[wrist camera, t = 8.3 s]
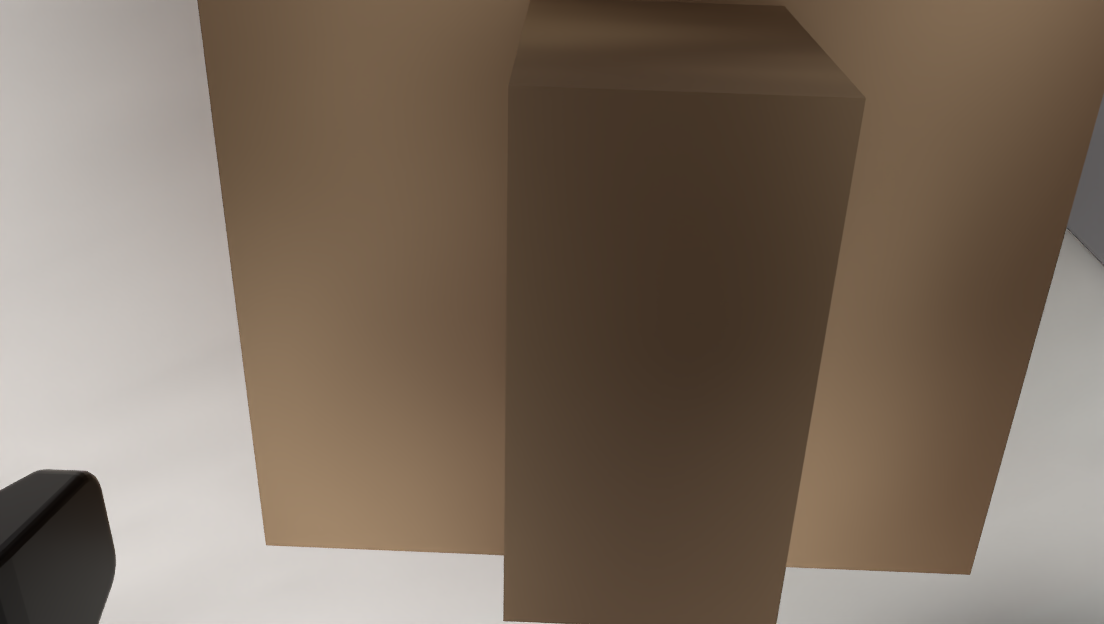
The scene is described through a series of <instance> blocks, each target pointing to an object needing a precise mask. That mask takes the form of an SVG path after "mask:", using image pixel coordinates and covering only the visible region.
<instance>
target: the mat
mask: <svg viewBox="0 0 1104 624" xmlns="http://www.w3.org/2000/svg"><path fill="white" fill-rule="evenodd" d="M1067 228H1068V229H1069V230H1070V231H1071V232H1072V233H1073V234H1074V235H1075V236H1076V237H1077V238H1078V239H1079V240H1080V241H1081V242H1082V243H1083V244H1084V245H1085V247H1086V248H1087V249H1088V250H1089V251H1090V252H1091V253H1092V254H1093V255H1094V256H1095V257H1096V258H1097V259H1098V260H1099V261H1100V262H1101V263H1102V264H1103V265H1104V94H1103V98H1102V101H1101V105H1100V108H1099V112H1098V116H1097V119H1096V123H1095V126H1094V130H1093V134H1092V137H1091V141H1090V144H1089V148H1088V152H1087V155H1086V159H1085V162H1084V166H1083V170H1082V173H1081V177H1080V180H1079V184H1078V188H1077V191H1076V195H1075V198H1074V202H1073V206H1072V209H1071V213H1070V216H1069V220H1068V224H1067Z"/></svg>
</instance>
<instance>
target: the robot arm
mask: <svg viewBox="0 0 1104 624" xmlns="http://www.w3.org/2000/svg"><path fill="white" fill-rule="evenodd" d="M115 566H116V555H115V549H114V544H113V540H112V535H111V530H110V526H109V521H108V517H107V512H106V508H105V503H104V499H103V494H102V490H101V487H100V484H99V482H98V480H97V478H96V477H95V476H94V475H93V474H91V473H89V472H88V471H77V470H51V469H46V470H39V471H36V472H33V473H31V474H29V475H28V476H26V477H24V478H22V479H20V480H18V481H17V482H15V483H13V484H11V485H9V486H7V487H5V488H4V489H2V490H0V624H99V621H100V618H101V615H102V612H103V609H104V607H105V604H106V601H107V598H108V595H109V592H110V590H111V587H112V583H113V580H114V575H115Z"/></svg>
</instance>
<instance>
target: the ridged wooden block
mask: <svg viewBox="0 0 1104 624" xmlns="http://www.w3.org/2000/svg"><path fill="white" fill-rule="evenodd" d="M197 1H198V9H199V16H200V24H201V32H202V40H203V48H204V56H205V64H206V72H207V80H208V88H209V96H210V104H211V112H212V120H213V128H214V136H215V144H216V152H217V159H218V167H219V175H220V183H221V191H222V199H223V207H224V215H225V223H226V231H227V239H228V247H229V255H230V263H231V271H232V279H233V287H234V295H235V302H236V310H237V318H238V326H239V334H240V342H241V350H242V358H243V366H244V374H245V382H246V390H247V398H248V406H249V414H250V422H251V430H252V438H253V445H254V453H255V461H256V469H257V477H258V485H259V493H260V501H261V509H262V517H263V525H264V533H265V541H266V545H273V546H297V547H321V548H344V549H368V550H392V551H416V552H440V553H464V554H488V555H504V615H503V621H517V622H540V623H563V624H776V622H777V616H778V610H779V604H780V599H781V593H782V587H783V581H784V575H785V569H786V567H799V568H822V569H846V570H870V571H894V572H918V573H942V574H966V575H970V573H971V569H972V566H973V562H974V559H975V555H976V551H977V548H978V544H979V541H980V537H981V533H982V530H983V526H984V523H985V519H986V515H987V512H988V508H989V505H990V501H991V497H992V494H993V490H994V486H995V483H996V479H997V476H998V472H999V468H1000V465H1001V461H1002V458H1003V454H1004V450H1005V447H1006V443H1007V440H1008V436H1009V432H1010V429H1011V425H1012V422H1013V418H1014V414H1015V411H1016V407H1017V404H1018V400H1019V396H1020V393H1021V389H1022V386H1023V382H1024V378H1025V375H1026V371H1027V368H1028V364H1029V360H1030V357H1031V353H1032V350H1033V346H1034V342H1035V339H1036V335H1037V332H1038V328H1039V324H1040V321H1041V317H1042V314H1043V310H1044V306H1045V303H1046V299H1047V296H1048V292H1049V288H1050V285H1051V281H1052V278H1053V274H1054V270H1055V267H1056V263H1057V260H1058V256H1059V252H1060V249H1061V245H1062V242H1063V238H1064V234H1065V231H1066V227H1067V224H1068V220H1069V216H1070V213H1071V209H1072V206H1073V202H1074V198H1075V195H1076V191H1077V188H1078V184H1079V180H1080V177H1081V173H1082V170H1083V166H1084V162H1085V159H1086V155H1087V152H1088V148H1089V144H1090V141H1091V137H1092V134H1093V130H1094V126H1095V123H1096V119H1097V116H1098V112H1099V108H1100V105H1101V101H1102V98H1103V94H1104V0H197Z"/></svg>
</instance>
